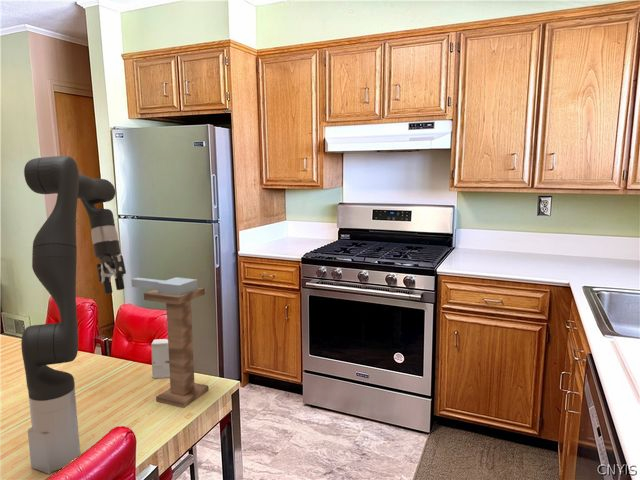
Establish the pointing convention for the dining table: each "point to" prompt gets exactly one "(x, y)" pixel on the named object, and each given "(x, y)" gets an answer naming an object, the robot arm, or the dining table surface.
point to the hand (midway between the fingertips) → (114, 291)
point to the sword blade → (167, 285)
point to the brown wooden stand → (179, 348)
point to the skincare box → (160, 358)
